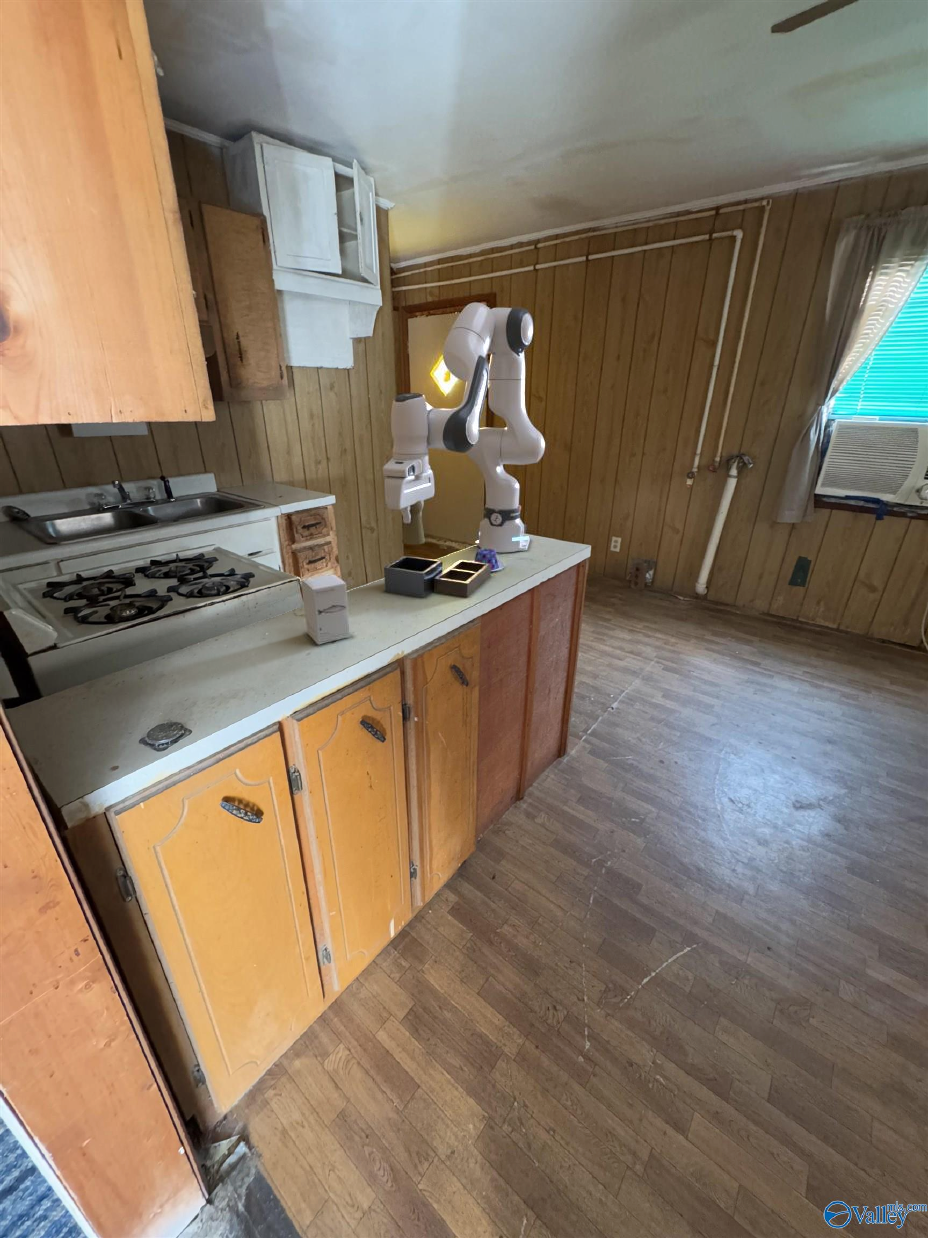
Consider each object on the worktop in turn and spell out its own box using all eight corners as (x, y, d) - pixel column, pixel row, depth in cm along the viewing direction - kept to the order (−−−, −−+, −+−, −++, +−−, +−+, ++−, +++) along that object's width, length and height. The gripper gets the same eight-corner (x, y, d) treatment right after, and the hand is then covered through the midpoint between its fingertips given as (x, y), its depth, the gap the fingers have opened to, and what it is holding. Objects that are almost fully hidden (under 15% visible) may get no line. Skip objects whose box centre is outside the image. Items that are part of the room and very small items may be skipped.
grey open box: (405, 578, 144) (405, 555, 141) (442, 584, 140) (442, 560, 137) (385, 591, 134) (383, 567, 132) (424, 598, 130) (423, 573, 128)
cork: (426, 538, 135) (425, 497, 130) (422, 545, 129) (421, 502, 125) (404, 538, 135) (402, 496, 131) (399, 544, 130) (397, 501, 125)
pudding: (458, 566, 155) (458, 550, 153) (486, 559, 162) (486, 543, 160) (485, 576, 147) (486, 559, 144) (513, 567, 154) (514, 551, 152)
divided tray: (460, 572, 149) (460, 559, 148) (490, 576, 146) (490, 563, 144) (434, 592, 134) (433, 578, 133) (467, 597, 131) (467, 583, 129)
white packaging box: (318, 645, 105) (311, 589, 100) (306, 633, 110) (299, 578, 105) (351, 637, 109) (346, 582, 103) (339, 625, 114) (333, 572, 109)
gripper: (418, 459, 134) (419, 511, 140) (378, 469, 117) (381, 527, 122) (440, 461, 132) (440, 513, 137) (402, 470, 114) (404, 530, 120)
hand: (412, 520), depth 130 cm, fingers closed on cork, 4 cm apart
